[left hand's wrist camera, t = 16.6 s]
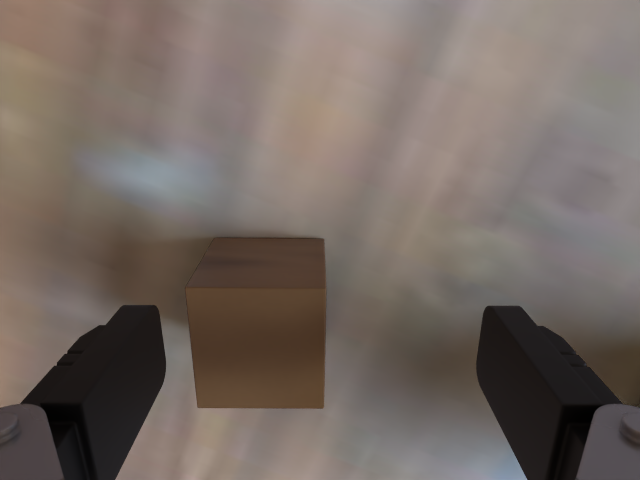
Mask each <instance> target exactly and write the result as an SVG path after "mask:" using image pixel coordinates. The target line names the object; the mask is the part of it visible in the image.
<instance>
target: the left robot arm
mask: <svg viewBox="0 0 640 480" xmlns="http://www.w3.org/2000/svg"><path fill="white" fill-rule="evenodd" d="M476 369H477V377H478V381H479V384H480V387H481V389H482V391H483V393H484V395H485V397H486V399H487V401H488V403H489V405H490V407H491V409H492V411H493V413H494V415H495V417H496V419H497V421H498V423H499V425H500V427H501V428H502V430H503V432H504V434H505V436H506V438H507V440H508V442H509V444H510V446H511V448H512V450H513V452H514V454H515V456H516V458H517V460H518V462H519V464H520V466H521V468H522V470H523V472H524V474H525V476H526V478H527V480H640V408H638V407H635V406H630V405H624V404H622V402H621V401H620V400H619V399H618V398H617V397H616V396H615V395H614V394H613V393H612V391H611V390H610V389H609V388H608V387H607V386H606V385H605V384H604V383H603V382H602V380H601V379H600V378H599V377H598V376H597V375H596V374H595V373H594V372H593V371H592V369H591V368H590V367H587V366H586V363H585V362H584V361H583V360H582V358H581V357H580V356H579V355H576V352H575V351H574V350H573V349H572V347H571V346H570V345H569V344H568V343H567V342H566V341H565V340H564V339H563V338H562V337H560V336H559V335H557V334H555V333H554V332H552V331H551V330H549V329H547V328H546V327H544V326H537V325H536V324H535V323H534V321H533V320H532V319H531V318H530V317H529V316H528V314H527V313H526V312H525V311H524V310H523V309H522V308H521V307H520V306H487V307H486V308H485V310H484V313H483V318H482V325H481V333H480V340H479V347H478V354H477V362H476ZM165 372H166V358H165V350H164V343H163V336H162V329H161V322H160V315H159V311H158V308H157V307H156V306H155V305H123V306H122V307H121V308H120V309H119V310H118V311H117V312H116V313H115V315H114V316H113V317H112V318H111V319H110V321H109V322H108V323H107V324H106V325H99V326H97V327H96V328H94V329H93V330H91V331H89V332H88V333H86V334H84V335H83V336H81V337H80V338H79V339H78V340H77V341H76V342H75V343H74V344H73V346H72V347H71V348H70V349H69V350H68V353H67V354H64V356H63V357H62V358H61V359H60V360H59V361H58V362H57V366H54V367H53V368H52V369H51V370H50V371H49V372H48V373H47V374H46V376H45V377H44V378H43V379H42V380H41V381H40V382H39V383H38V384H37V386H36V387H35V388H34V389H33V390H32V391H31V392H30V393H29V394H28V396H27V397H26V398H25V399H24V400H23V401H22V402H21V403H20V404H16V405H10V406H5V407H2V408H0V480H115V479H116V477H117V475H118V473H119V471H120V469H121V467H122V465H123V463H124V461H125V459H126V457H127V455H128V453H129V451H130V449H131V447H132V445H133V443H134V441H135V439H136V437H137V435H138V433H139V431H140V429H141V427H142V425H143V423H144V421H145V419H146V417H147V415H148V413H149V411H150V409H151V407H152V405H153V403H154V401H155V399H156V397H157V395H158V393H159V391H160V389H161V387H162V385H163V382H164V378H165Z"/></svg>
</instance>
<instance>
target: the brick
mask: <svg viewBox="0 0 640 480" xmlns="http://www.w3.org/2000/svg"><path fill="white" fill-rule="evenodd" d="M185 293H186V302H187V312H188V321H189V331H190V340H191V350H192V359H193V369H194V379H195V388H196V398H197V407H198V408H320V409H323V408H324V387H325V336H326V269H325V246H324V239H286V238H214V239H213V241H212V243H211V244H210V246H209V248H208V250H207V251H206V253H205V255H204V256H203V258H202V260H201V261H200V263H199V265H198V267H197V268H196V270H195V272H194V273H193V275H192V277H191V278H190V280H189V282H188V284H187V285H186V287H185Z"/></svg>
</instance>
